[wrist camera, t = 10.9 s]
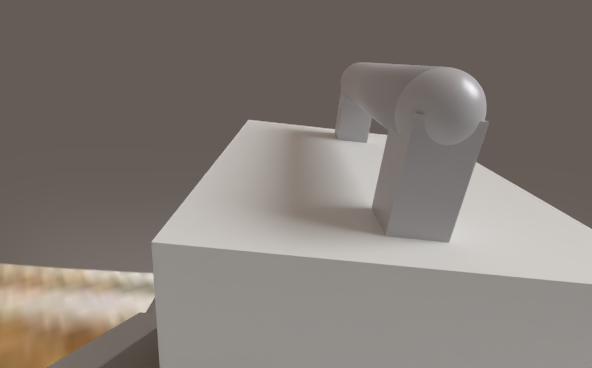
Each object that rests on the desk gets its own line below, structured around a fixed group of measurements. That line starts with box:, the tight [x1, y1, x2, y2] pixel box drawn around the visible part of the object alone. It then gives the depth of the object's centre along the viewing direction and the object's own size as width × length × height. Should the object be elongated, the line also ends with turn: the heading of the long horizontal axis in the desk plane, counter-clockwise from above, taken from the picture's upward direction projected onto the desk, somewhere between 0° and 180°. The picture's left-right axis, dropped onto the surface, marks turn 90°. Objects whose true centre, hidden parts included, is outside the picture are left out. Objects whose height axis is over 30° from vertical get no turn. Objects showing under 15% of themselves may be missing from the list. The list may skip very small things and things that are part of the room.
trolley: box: [151, 62, 592, 368], centre depth 8 cm, size 7×6×13 cm
